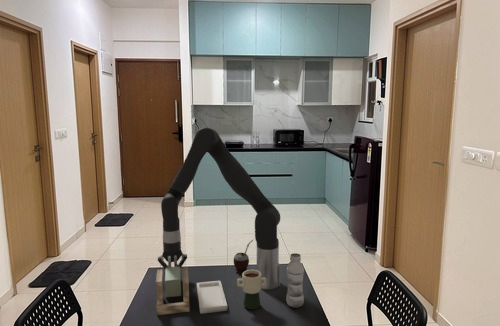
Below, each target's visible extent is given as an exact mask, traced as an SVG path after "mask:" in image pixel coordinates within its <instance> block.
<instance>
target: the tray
mask: <svg viewBox="0 0 500 326" xmlns="http://www.w3.org/2000/svg"><path fill="white" fill-rule="evenodd" d="M196 292H197V300H198V308H199V313H200V314H209V313H211V314H212V313H219V312H226V311H228V303H227V300H226V295H225V292H224V289H223V285H222V282H221V280H212V281H202V282H196Z"/></svg>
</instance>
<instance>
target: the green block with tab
mask: <svg viewBox="0 0 500 326" xmlns="http://www.w3.org/2000/svg"><path fill="white" fill-rule="evenodd" d="M164 270H165V275H164V287H165V288H164V289H165V291H164V292H165V298H172V297H173V298H175V297H181V296H182V287H181V286H182V283H181V282H182V281H181V280H182V279H181V268H180V267H174V266H171V267H169V268H166V269H164Z"/></svg>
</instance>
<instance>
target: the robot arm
mask: <svg viewBox="0 0 500 326" xmlns="http://www.w3.org/2000/svg"><path fill="white" fill-rule="evenodd" d="M207 153H208V154H209V156H211V158H212V159H213V160H214V161H215V163H216V165H217V166H218V169H219V171H220V173H221V175H222V177H223V178H224V180H225V182H226V183H227V184H228V186H229V187H230V189H232V191H233V192H235V194H236V195H238V196H239V197H240V198H241V199H244V200H245V201H246V202H248V204H249V205H250V206H251V207H252V208H253V210H254V211H255V213H256V215H255V218H254V239H255V242H256V270H257V271H259V272H260V273H261V278H266V286H261V290H266V291H267V290H274V289H277V288H278V287H281V264H280V263H279V262H280V261H279V259H280V258H279V257H280V256H279V255H280V254H279V253H280V252H279V249H280V248H279V245H280V242H279V239H278V225H279V224H280V222H281V213H280V211H279V210H278V208H276V207H275V205H274V204H273V203H272V202H271V201H270V200H269V199H268V198H267V197H266V195H265V194H263V192H262V191H261V189H260V188H259V187H258V185H257V183H256V182H255V181H254V180H253V179H252V177H251V175H250V174H249V173H248V171H247V170H246V169H245V167H244V166H242V164H241V163H240V161H238V159H237V158H236V157H235V156H234V155H233V154H232V153H231V152H230V151H229V150H228V148H227V146H226V144H225V142H224V141H223V140H222V138H221V137H220V134H219V133H218V132H217V131H216V130H215V129H213V128H210V127H206V126H205V127H202V128H201V127H200V129H198V130H197V132H196V133H195V135H194V137H193V140H192V143H191V146H190V148H189V151H188V153H187V155H186V158H185V159H184V161H183V163H182V165H181V167H180V169H179V170H178V172H177V173H176V175H175V177H174V179H173V181H172V183H171V185H170V187H169V189H168V190H167V192H166V193H165V195H164V196H163V198H162V200H161V203H160V204H161V205H160V206H161V207H160V208H161V209H160V210H161V215H162V243H163V244H162V249H163V252H162V254H161V255H160V256H158V257H157V262H158V263H159V265H161V266H162V268H163V269H164V270H166V268H169V267H172V263H173V265H174V266H173V267H180V269H182V268H183V267H182V266H183V265H184V264H185V262H186V261H187V259H188V254H187V253H186V254H185V253H183V251H182V242H181V241H182V239H181V234H182V233H181V226H180V223H181V222H180V217H179V205H180V203H181V200H182V199H183V198H184V195H185V193H186V192H187V191H188V189H189V188H190V186H191V184H192V182H193V180H194V178H195V177H196V175H197V171H198V169H199V166H200V164H201V162H202V160H203V158H204V157H205V155H206V154H207ZM180 259H181V260H180ZM164 260H165V261H166V262H167V263H168V264H167V263H166V262H165V261H164ZM179 260H180V261H179ZM178 261H179V263H178ZM261 284H264V280H261Z"/></svg>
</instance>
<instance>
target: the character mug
mask: <svg viewBox="0 0 500 326" xmlns="http://www.w3.org/2000/svg"><path fill="white" fill-rule="evenodd" d="M236 280H237V281H236V285H237V287H238V288H242V290H243V292H244V296H243V297H244V298H243V306H244V307H245V308H246V309H249V310H255V309H258V308H259V307H261V306H260V305H261V298H260V297H261V296H260V291H261V290H262V289H261V286H266V278H261V273H260V272H259V271H257V269H247V270H246V271H244V272H242V276H241V278H237V279H236ZM261 280H264V284H261ZM241 282H242V283H241Z"/></svg>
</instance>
